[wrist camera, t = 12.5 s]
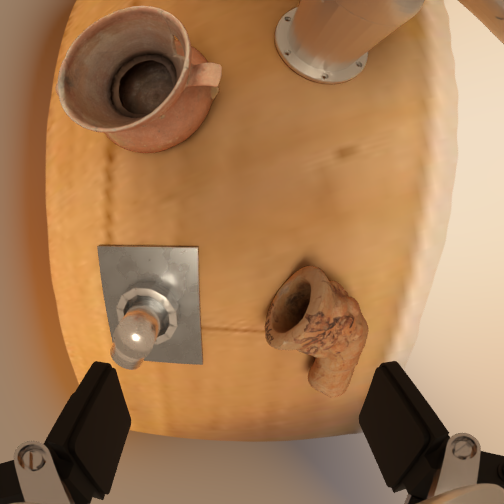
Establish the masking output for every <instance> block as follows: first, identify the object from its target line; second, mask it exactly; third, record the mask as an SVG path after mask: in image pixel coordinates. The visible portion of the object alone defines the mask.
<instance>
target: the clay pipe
mask: <svg viewBox="0 0 504 504" xmlns="http://www.w3.org/2000/svg"><path fill="white" fill-rule="evenodd" d="M265 335H266V340H267V342H268V344H269V345H270V346H272V347H274V348H276V349H278V350H297V351H299V352H302V353H305V354H307V355H312V356H314V357H316V359H315V361H314V363H313V365H312V367H311V369H310V371H309V374H308V381H309V383H310V385H311V386H312V387H313V388H315V389H316V390H318V391H320V392H322V393H324V394H325V395H327V396H329V397H330V398H331V397H337V396H340V395H342V394H343V393H344V392H345V391H346V389H347V387H348V386H349V383H350V381H351V378H352V375H353V372H354V367H355V366H356V365H357V364H358V360H359V357H360V354H361V352H362V350H363V348H364V346H365V343H366V339H367V335H368V325H367V322H366V320H365V319H364V317H363V315H362V313H361V311H360V307H359V304H358V302H357V301H356V300H355V299H354V298H352V297H348V294H347V292H346V291H344V288H343V287H342V286H341V285H340V284H339V283H338V282H337V281H329V280H328V279H327V277H326V275H325V274H324V272H323V271H322V270H321V269H320V268H317V267H314V266H306V267H303V268H301V269H300V270H298V271H297V272H296V273H294V274H293V275H292V276H291V277H290V278H289V279H288V280H287V281H286V282H285V283H284V284H283V285H282V287H281V288H280V289H279V291H278V292H277V294H276V296H275V297H274V299H273V301H272V303H271V306H270V308H269V311H268V314H267V318H266V323H265Z"/></svg>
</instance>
